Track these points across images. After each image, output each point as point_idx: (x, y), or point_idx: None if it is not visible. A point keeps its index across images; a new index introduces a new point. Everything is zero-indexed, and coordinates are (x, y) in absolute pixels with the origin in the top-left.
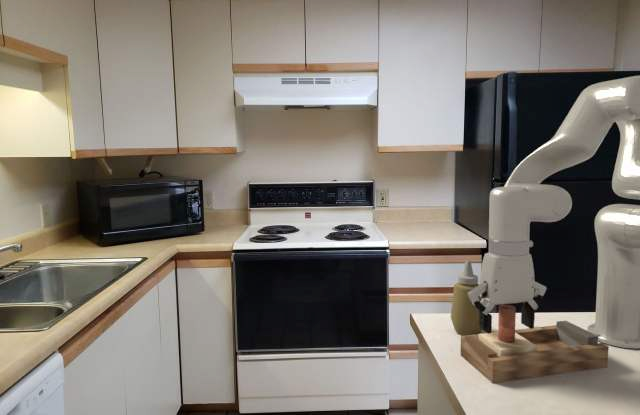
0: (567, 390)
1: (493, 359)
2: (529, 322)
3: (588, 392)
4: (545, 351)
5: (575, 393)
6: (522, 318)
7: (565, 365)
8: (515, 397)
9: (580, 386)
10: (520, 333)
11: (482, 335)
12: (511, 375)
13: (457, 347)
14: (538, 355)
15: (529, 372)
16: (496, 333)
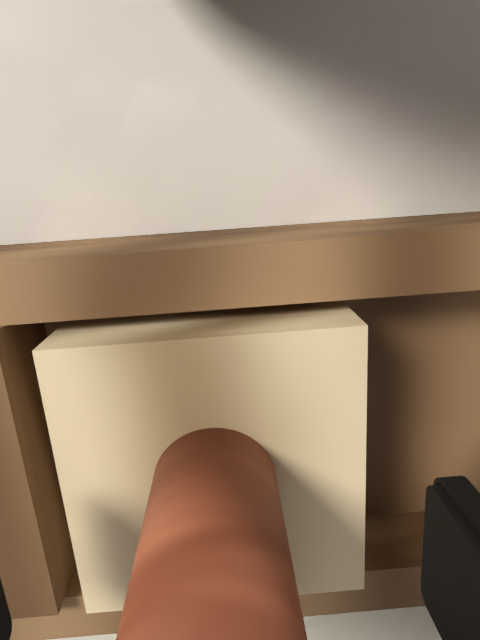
0: (343, 617)
1: (24, 624)
2: (446, 629)
3: (410, 636)
4: (396, 581)
5: (356, 636)
6: (453, 539)
7: None
8: (105, 635)
9: None
10: (448, 290)
11: (56, 385)
12: None
13: (10, 122)
14: (320, 613)
15: None
16: (197, 368)
